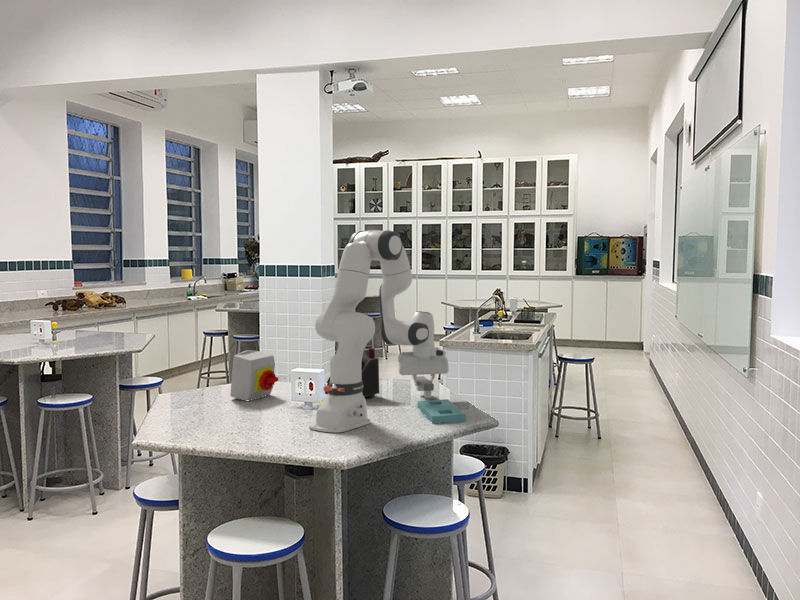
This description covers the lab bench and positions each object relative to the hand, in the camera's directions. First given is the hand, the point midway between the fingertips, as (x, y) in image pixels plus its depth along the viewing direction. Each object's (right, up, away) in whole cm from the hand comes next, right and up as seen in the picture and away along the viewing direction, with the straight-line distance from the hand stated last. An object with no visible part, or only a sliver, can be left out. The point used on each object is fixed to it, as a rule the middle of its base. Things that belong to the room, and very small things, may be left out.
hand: (423, 385), depth 258 cm
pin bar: (0, -3, 0) cm, 3 cm away
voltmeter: (-30, -6, +7) cm, 31 cm away
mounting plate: (+5, -7, -25) cm, 26 cm away
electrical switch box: (-69, -7, +8) cm, 70 cm away
